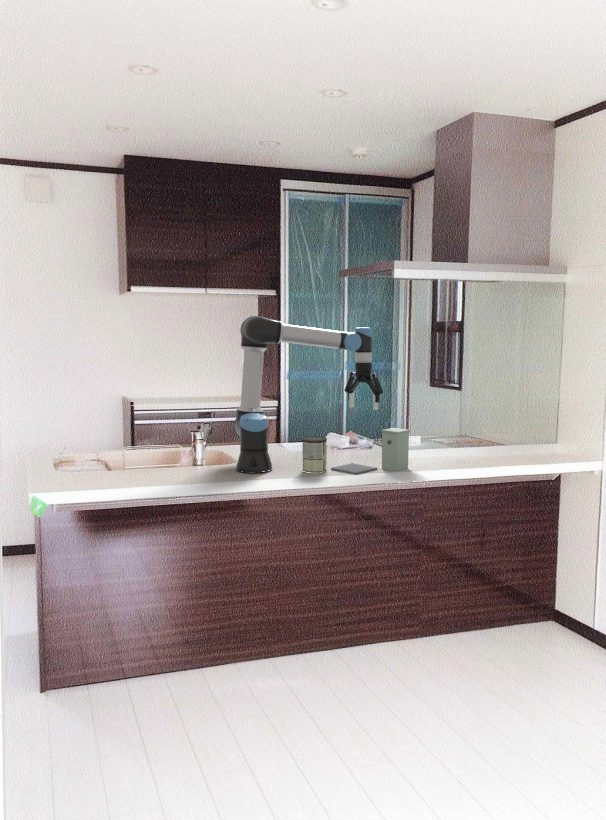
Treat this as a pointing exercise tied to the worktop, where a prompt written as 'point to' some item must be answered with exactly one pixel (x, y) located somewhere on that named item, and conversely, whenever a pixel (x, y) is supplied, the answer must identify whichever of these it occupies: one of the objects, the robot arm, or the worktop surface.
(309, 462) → the coffee can
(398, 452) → the block
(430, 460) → the worktop surface
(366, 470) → the pad
